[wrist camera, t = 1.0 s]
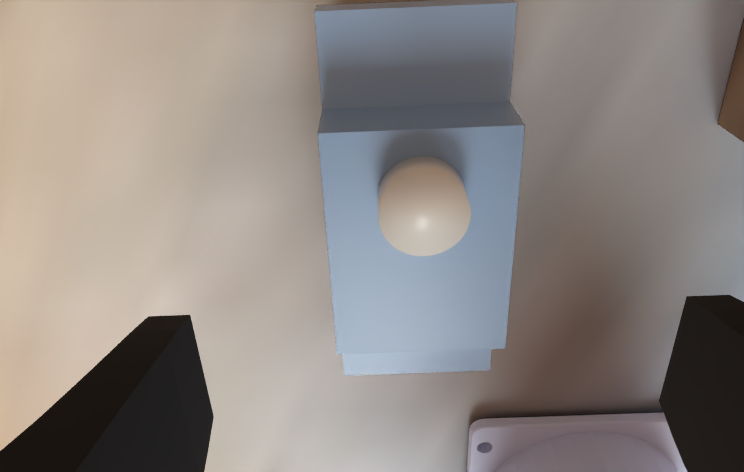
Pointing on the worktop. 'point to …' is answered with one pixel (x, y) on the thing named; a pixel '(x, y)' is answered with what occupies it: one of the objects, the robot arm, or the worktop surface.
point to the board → (735, 95)
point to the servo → (419, 180)
